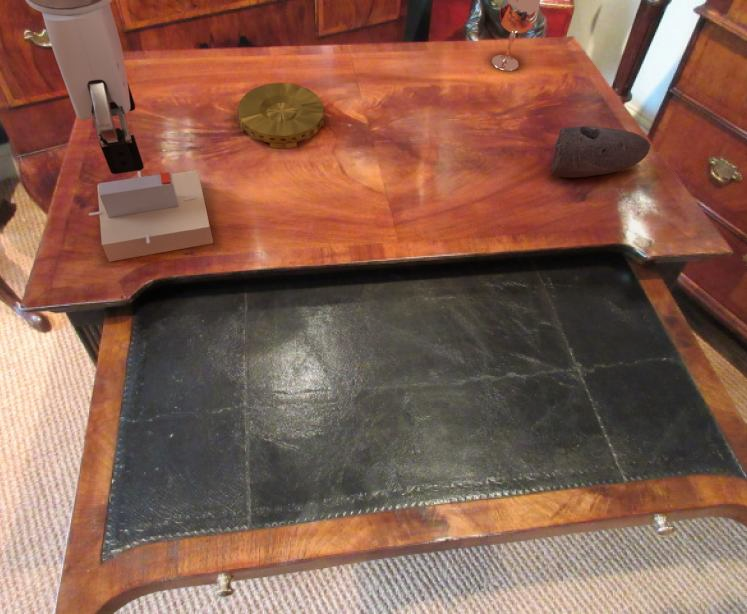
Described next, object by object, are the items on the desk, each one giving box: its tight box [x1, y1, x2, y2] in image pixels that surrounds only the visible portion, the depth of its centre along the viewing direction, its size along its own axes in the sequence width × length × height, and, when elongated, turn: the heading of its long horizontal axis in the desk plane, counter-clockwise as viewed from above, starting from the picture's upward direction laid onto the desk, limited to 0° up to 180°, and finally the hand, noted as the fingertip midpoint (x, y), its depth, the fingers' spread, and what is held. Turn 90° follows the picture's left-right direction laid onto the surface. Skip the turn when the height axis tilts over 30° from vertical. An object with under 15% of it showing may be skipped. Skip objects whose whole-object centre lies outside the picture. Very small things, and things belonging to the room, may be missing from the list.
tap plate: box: [88, 169, 214, 262], centre depth 73 cm, size 13×12×3 cm
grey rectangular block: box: [98, 171, 179, 218], centre depth 70 cm, size 8×2×4 cm, turn 107°
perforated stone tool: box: [551, 125, 651, 179], centre depth 83 cm, size 15×5×7 cm, turn 98°
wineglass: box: [491, 0, 541, 72], centre depth 95 cm, size 6×6×12 cm
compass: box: [237, 82, 325, 149], centre depth 86 cm, size 12×12×2 cm
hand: (124, 139), depth 64 cm, fingers open, 9 cm apart
